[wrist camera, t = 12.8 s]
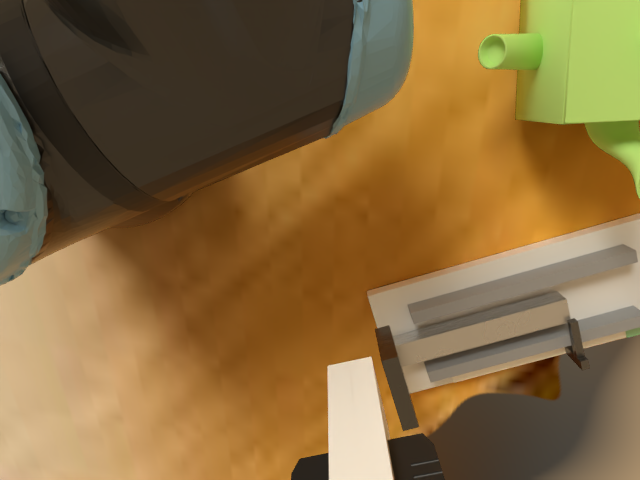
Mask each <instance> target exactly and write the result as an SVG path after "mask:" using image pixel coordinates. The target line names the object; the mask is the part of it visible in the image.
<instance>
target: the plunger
mask: <svg viewBox="0 0 640 480" xmlns="http://www.w3.org/2000/svg"><path fill="white" fill-rule="evenodd" d="M563 323H568V328H569V333H570V338H571V343H572V345H571V346H567V347H565V351H566V353H567V355H568V356H569V357H570V358H571V359H572V360H573V361H574V362H575V363H576V364H577V365H578V366H579V367H580V368H581V369H582V370H585V369H589V368H590V367H589V362H588V359H587V358H586V357H585V355H584V350H583V345H582V339H581V334H580V329H579V324H578V321H577V320H576V319H575V318H573V319H571V318H570V313H569V308H568V303H567V299H566V298H565V297H563V296H562V295H561V294H560V293H559V292H558V291H555V292H551V293H547V294H544V295H540V296H537V297H533V298H529V299H526V300H522V301H518V302H515V303H511V304H508V305H504V306H500V307H497V308H493V309H489V310H486V311H482V312H479V313H475V314H471V315H468V316H464V317H460V318H457V319H453V320H449V321H446V322H442V323H439V324H435V325H431V326H428V327H424V328H420V329H417V330H413V331H410V332H406V333H402V334H399V335H395V336H392V333H391V329H390V326H389V325H388V326H384V327H381V328H377V329H375V332H376V337H377V342H378V347H379V352H380V357H381V361H382V365H383V368H384V371H385V374H386V377H387V381H388V384H389V387H390V390H391V393H392V397H393V400H394V403H395V406H396V409H397V413H398V416H399V419H400V422H401V425H402V429H403V431H405V430H409V429H413V428H417V427H419V425H418V421H417V418H416V414H415V411H414V407H413V403H412V400H411V396H410V393H409V389H408V386H407V382H406V379H405V376H404V372H403V369H402V367H404V366H407V365H411V364H415V363H419V362H422V361H426V360H430V359H433V358H437V357H441V356H445V355H448V354H452V353H456V352H459V351H463V350H467V349H471V348H474V347H478V346H482V345H485V344H489V343H493V342H497V341H500V340H504V339H508V338H511V337H515V336H519V335H523V334H526V333H530V332H534V331H537V330H541V329H545V328H549V327H552V326H556V325H560V324H563ZM393 338H394V339H393Z"/></svg>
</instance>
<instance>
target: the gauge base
mask: <svg viewBox="0 0 640 480" xmlns="http://www.w3.org/2000/svg"><path fill="white" fill-rule="evenodd" d="M555 291H558V292H559V293H560V294H561V295H562V296H563V297H565V298H566V299H567V303H568V308H569V313H570V318H571V319H573V318H575V319H576V320H577V321H578V324H579V329H580V334H581V339H582V345H583V349H584V348H588V347H592V346H595V345H599V344H603V343H607V342H611V341H614V340H618V339H622V338H626V337H627V338H629V337H632V336H636V335H640V213H638V214H635V215H631V216H628V217H624V218H621V219H617V220H614V221H610V222H607V223H603V224H600V225H596V226H593V227H589V228H586V229H582V230H579V231H575V232H572V233H568V234H565V235H561V236H558V237H554V238H551V239H547V240H544V241H540V242H537V243H533V244H530V245H526V246H523V247H519V248H516V249H512V250H509V251H505V252H502V253H498V254H495V255H491V256H488V257H484V258H481V259H477V260H474V261H470V262H467V263H463V264H460V265H456V266H453V267H449V268H446V269H442V270H439V271H435V272H432V273H428V274H425V275H421V276H418V277H414V278H411V279H407V280H404V281H400V282H397V283H393V284H390V285H386V286H383V287H379V288H376V289H372V290H369V291H367V296H368V299H369V303H370V306H371V309H372V312H373V315H374V319H375V322H376V325H377V328H381V327H384V326H388V325H389V326H390V329H391V333H392V336H395V335H399V334H402V333H406V332H410V331H413V330H417V329H420V328H424V327H428V326H431V325H435V324H439V323H442V322H446V321H449V320H453V319H457V318H460V317H464V316H468V315H471V314H475V313H479V312H482V311H486V310H489V309H493V308H497V307H500V306H504V305H508V304H511V303H515V302H518V301H522V300H526V299H529V298H533V297H537V296H540V295H544V294H547V293H551V292H555ZM393 339H394V338H393ZM571 345H572V343H571V338H570V333H569V328H568V323H563V324H560V325H556V326H552V327H549V328H545V329H541V330H537V331H534V332H530V333H526V334H523V335H519V336H515V337H511V338H508V339H504V340H500V341H497V342H493V343H489V344H485V345H482V346H478V347H474V348H471V349H467V350H463V351H459V352H456V353H452V354H448V355H445V356H441V357H437V358H433V359H430V360H426V361H422V362H419V363H415V364H411V365H407V366H404V367H402V369H403V372H404V376H405V379H406V382H407V386H408V389H409V393H414V392H418V391H422V390H426V389H429V388H433V387H437V386H441V385H445V384H448V383H452V382H454V383H455V382H459V381H463V380H467V379H470V378H474V377H478V376H482V375H486V374H489V373H493V372H497V371H501V370H505V369H508V368H512V367H516V366H520V365H524V364H527V363H531V362H535V361H539V360H543V359H546V358H550V357H554V356H558V355H561V354H565V353H566V351H565V347H567V346H571Z"/></svg>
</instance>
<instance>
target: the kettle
mask: <svg viewBox="0 0 640 480" xmlns="http://www.w3.org/2000/svg"><path fill="white" fill-rule="evenodd" d="M478 58H479V61H480V63H481V65H482V66H483V67H485V68H486V69H509V70H517V88H516V109H515V119H516V120H525V121H535V122H544V123H553V124H579V123H584V124H585V128H586V130H587V133H588V135H589V137H590V138H591V140H592V141H593V143H594V144H596V145H597V146H598V147H599V148H600V149H601V150H603V151H604V152H606V153H608V154H609V155H611V156H613V157H614V158H616V159H618V160H619V161H620V162H622V163H623V164H624V165H625V166H626V167H627V168H628V169H629V170H630V172H631V174H632V176H633V179H634V183H635V188H636V192H637V195H638V197H639V199H640V131H639V120H640V0H521V3H520V25H519V34H492V35H489V36H487V37H486V38H485V39H484V40H483V41H482V42H481V44H480V46H479V50H478Z"/></svg>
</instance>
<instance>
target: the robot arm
mask: <svg viewBox="0 0 640 480" xmlns="http://www.w3.org/2000/svg"><path fill="white" fill-rule="evenodd" d="M413 32H414V22H413V1H412V0H0V285H3V284H6V283H7V282H10V281H12V280H14V279H15V278H17V277H18V276H20V275H21V274H22V273H23V272H24V271H25V269H26V268H27V267H28V266H29V265H31V264H33V263H35V262H36V261H38V260H40V259H42V258H44V257H46V256H48V255H50V254H52V253H54V252H56V251H59V250H61V249H63V248H65V247H67V246H69V245H71V244H74V243H76V242H78V241H80V240H82V239H85V238H87V237H89V236H92V235H94V234H96V233H98V232H101V231H103V230H105V229H108V228H126V227H133V226H139V225H143V224H147V223H149V222H152V221H155V220H157V219H159V218H161V217H163V216H165V215H167V214H168V213H170V212H171V211H173V210H174V209H175V208H177V207H178V206H179V205H181V204H182V203H183V202H184V201H186V200H187V199H188V198H189V197H190V196H191V194H192V193H193V192H194V191H197V190H199V189H201V188H204V187H206V186H209V185H211V184H213V183H216V182H218V181H220V180H223V179H225V178H228V177H230V176H232V175H235V174H237V173H240V172H242V171H244V170H247V169H249V168H252V167H254V166H256V165H259V164H261V163H264V162H266V161H268V160H271V159H273V158H276V157H278V156H280V155H283V154H285V153H288V152H290V151H292V150H295V149H297V148H300V147H302V146H304V145H307V144H309V143H311V142H314V141H316V140H319V139H321V138H329V137H331V136H332V135H334V134H337V133H338V132H339V131H340V130H341V129H342V128H343V126H345V125H347V124H349V123H351V122H353V121H355V120H357V119H359V118H361V117H363V116H365V115H367V114H369V113H371V112H373V111H374V110H376V109H378V108H380V107H382V106H384V105H385V104H387V103H388V102H389V101H390V100H391V99H393V98H394V96H395V95H396V94H397V93H398V92H399V90H400V89H401V87H402V85H403V83H404V81H405V79H406V76H407V73H408V70H409V67H410V62H411V57H412V49H413ZM328 443H329V453H326V454H321V455H316V456H311V457H306V458H301V459H299V461H298V463H297V465H296V466H295V468H294V470H293V472H292V475H291V480H445V479H444V476H443V473H442V469H441V466H440V463H439V460H438V456H437V453H436V450H435V447H434V444H433V443H432V442H431V441H430V440H429V439H428V438H427V437H426V436H425V435H424V434H423V433H421V434H416V435H411V436H406V437H401V438H396V439H391V440H390V435H389V429H388V424H387V420H386V416H385V412H384V407H383V403H382V399H381V395H380V391H379V386H378V382H377V378H376V374H375V370H374V365H373V361H372V357H367V358H362V359H357V360H352V361H348V362H343V363H338V364H333V365H329V366H328Z"/></svg>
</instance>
